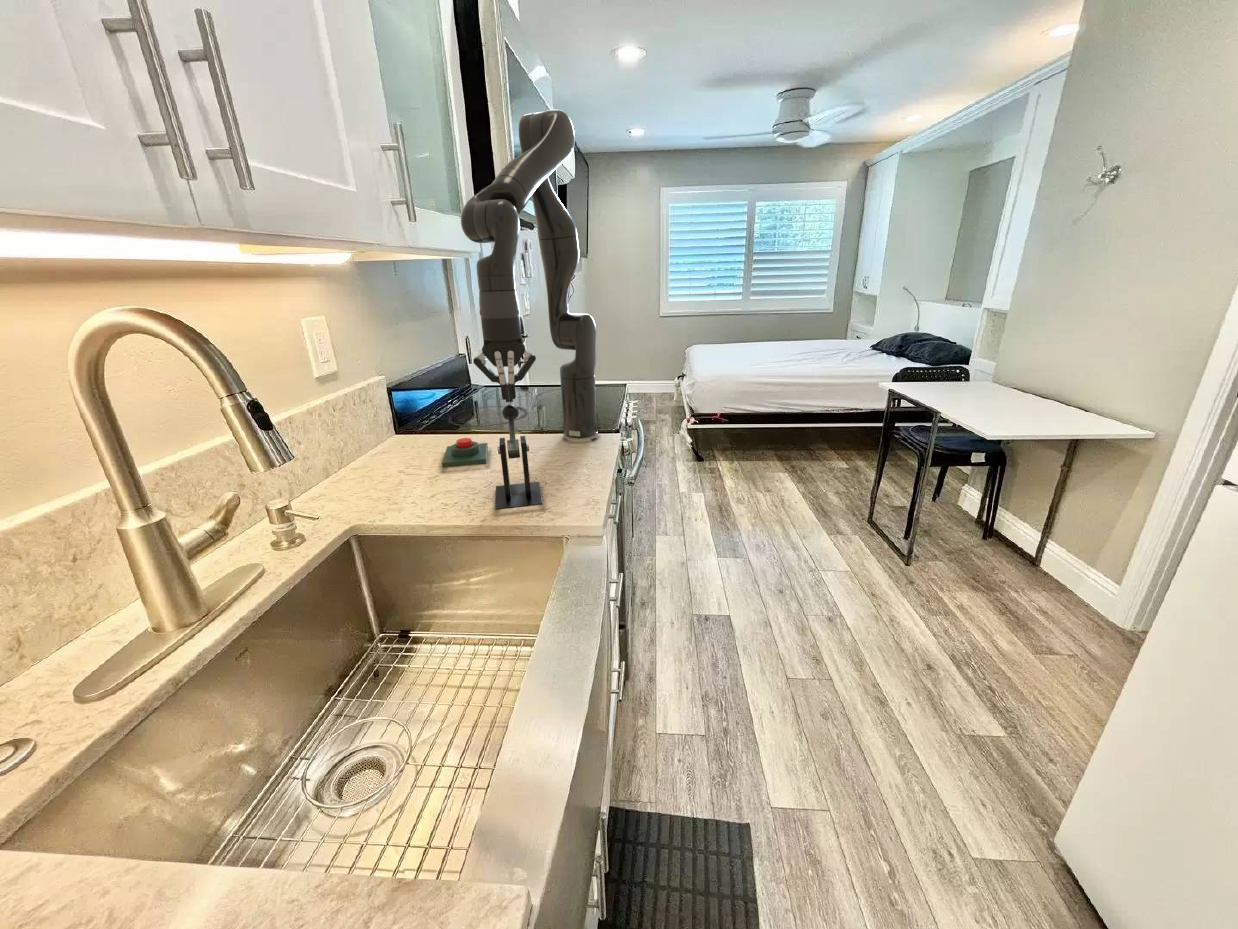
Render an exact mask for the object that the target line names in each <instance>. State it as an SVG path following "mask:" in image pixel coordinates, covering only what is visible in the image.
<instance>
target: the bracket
mask: <svg viewBox="0 0 1238 929" xmlns="http://www.w3.org/2000/svg"><path fill="white" fill-rule="evenodd" d="M519 439H520V440H519V441H520V449H521V450H520V451H521V460H522V469H523V479H524V482H523V483H522V482H521V483H513V484H512V483H511V482H510V472H509V463H508V452H507V446H506V445H507V443H506V438H505V437H499V444H498V445H499V446H497V454H498V455H500V462H501V470H502V479H503V485H502V484H501V485H496V486H495V506H494V510H495V511H497V510H498V511H499V510H506V509H514V508H523V507H531V506H532V507H533V506H541V505H543V497H542V491H541V484H540V481H532V482H531V478H530V470H529V459H528V458H529V456H528V452H530V444H529V443H527V438H526V435H520V436H519Z"/></svg>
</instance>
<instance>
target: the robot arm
mask: <svg viewBox="0 0 1238 929" xmlns="http://www.w3.org/2000/svg"><path fill="white" fill-rule="evenodd" d="M517 131H518V141H519V142H518V143H519V147H520V152H521V153H520V154H519V155H518V156H516V157H514V158H513V159H511V160H510V161H509V162H508V163H507V164H505V165H504V167H503V168H501V170H500V171H499V173H498V174H497V176H496V177H495V179H494V180H493V181H492V183H491V184H489V185H488V186H486V187H483V188H482V189H481V190H479V191H478V193H476V194H474V195H473V196H472V197H471V198H469V199H468V200H467V201H466V203H465V204H464V206H463V208H462V211H461V213H460V214H461V215H460V226H461V229H462V232H463V234H464V235H465V236H466V238H467V239H469V240H470V241H472V242H473V243H476V244H493V249H492V251H491V253H490V254H489V255H487V256H484V257H481V258H479V259H478V260H477V261H476V265H475V266H476V267H475V268H476V269H475V270H476V278H477V286H478V305H479V306H478V307H479V315H480V324H481V331H482V340H483V345H482V348H481V353H479V354H478V355H477V356H474V358H473V360H472V362H473V364H474V365H475V366H476V367H477V368H478V370H480V371H481V373H483V374H484V376H485V377H486V378H487V379H488V380H490V382H492V383H496V384H499V386H500V392H501V398H502V400H503V401H504V400H505V403H513V402H514V400H516V398H517V392H516V383H517V382H521V381H523V379H524V378H525V376H526V375H527V373H528V372H529V370H530V369H531V367H532V366H533V364H534V363H535V361H536V359H537V357H536V355H535V353H531V352H530V351H528V350H527V349H526V345H525V344H524V343H523V336H522V335H523V334H522V325H521V309H520V303H519V297H518V294H517V287H516V286H517V285H516V272H515V264H516V259H517V258H516V256H517V250H518V244H519V238H520V233H521V232H520V230H521V222H520V216H519V215H520V214H521V213H522V212H523V210H524V209H525V208H526V206H527V205H528V203H529V201H530V200H531V198H532V206H533V210H534V217H535V224H536V231H537V238H538V239H537V240H538V245H539V251H540V256H541V263H542V268H543V273H544V281H545V287H546V296H547V309H548V323H549V333H550V338H551V341H552V343H553V344H554V346H555V347H556V348H557V349H559V350H566V351H575V354H574V358H573V360H571V361H569V362H565V363H564V364H561V365H560V367H559V378H560V379H559V380H560V391H561V393H560V394H561V406H562V407H561V410H562V423H563V424H562V425H563V439H564V440H565V441H569V440H570V441H571V440H579V439H580V440H581V439H590V440H591V441H593V440H595V439H598V422H597V421H598V420H597V394H596V393H597V392H596V373H595V372H596V364H597V327H596V322H595V320H594V317H593V316H592V315H591V314H589V313H577V312H573V313H572V312H569V303H568V294H569V288H570V285H571V282H572V280H573V277H574V275H575V272H576V271H577V267H578V265H579V261H580V247H579V238H578V230H577V226H576V224H575V222H574V220H573V218H572V216H571V215H570V214H569V211H568V210H567V209H566V207H565V206H564V204H563V203H562V202H561V200H560V198H559V197H558V196H557V194H556V192H555V191H554V188H553V186H552V183H551V180H550V176H551V175H552V173H554V172H555V171H556V170H557V169H558V168H559V167H560V166H561V165H562V164H563V163H564V162H566V161H567V160H568V159H569V158H570V157H571V155H572V154H573V151H574V148H575V143H576V142H575V141H576V138H575V137H576V136H575V135H576V134H575V130H574V125H573V122H572V120H571V118H570V116H569V115H568V114H567V112H565V111H564V110H561V109H549V110H543V111H537V112H531V113H527V114H524V115H522V116H521V117H520V120H519V122H518V130H517ZM522 357H523V362H524V363H523V364H522V365H521V367H520V368H519V370H518V372H516V373H515V367H516V366H517V365H518V363H519V362H520V360H521V359H522ZM487 360H488V361H489V362H490V364H492V366H494V368H497V374H496V373H495V372H494V371H492V369H491V368H490V367H489V366H488V365H487ZM505 368H507V377H506V372H505Z"/></svg>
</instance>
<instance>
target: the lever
mask: <svg viewBox="0 0 1238 929" xmlns="http://www.w3.org/2000/svg"><path fill="white" fill-rule="evenodd" d="M519 411H520V410H519V408H518V407H517V406H516V405H514V404H507V405H505V406H504V407H503V408H502V411H501V412H502V413H501V415H502V417H503V418H504V419H505V420H506V421H508V432H509V439H507V440H506V445H507V446H506V449H507V458H508V459H510V460H511V459H520V458H521V450H520V440H519V439H518V438H517V439H516V428H515V420H516V419H518V417H519V414H520V412H519Z"/></svg>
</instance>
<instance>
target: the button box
mask: <svg viewBox="0 0 1238 929" xmlns="http://www.w3.org/2000/svg"><path fill="white" fill-rule="evenodd" d="M488 452H489V444H488V442H482V443H481V442H480V443H479V442H477V441H474V440H472V447H469V448H462V449H461V448H457V443H456V442H455V443H453V444H452V445H447V446H446V448H445V452H444V454H443V458H442V461H441V467H442V469H445V468H456V467H457V468H458V467H466V466H476V465H477V466H478V465H486V464H487V462H488Z"/></svg>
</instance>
